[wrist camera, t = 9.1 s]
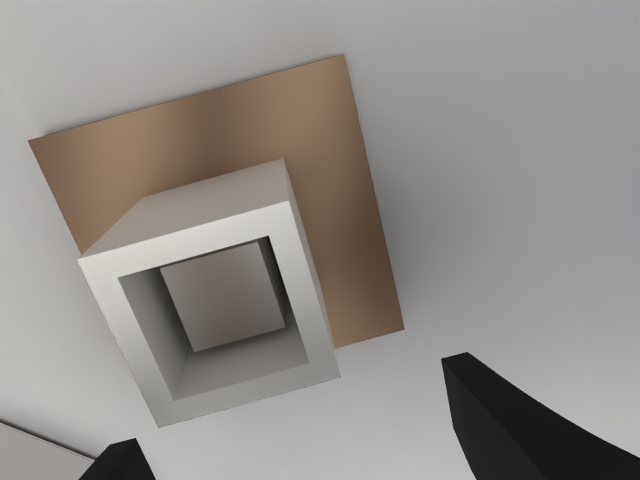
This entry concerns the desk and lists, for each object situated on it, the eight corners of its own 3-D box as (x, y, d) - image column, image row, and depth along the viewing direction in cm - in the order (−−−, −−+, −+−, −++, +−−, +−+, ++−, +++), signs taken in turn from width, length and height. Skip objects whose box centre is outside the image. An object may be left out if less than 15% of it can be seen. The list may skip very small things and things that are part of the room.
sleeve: (283, 157, 17) (288, 200, 11) (320, 284, 19) (340, 377, 13) (143, 197, 17) (76, 259, 11) (193, 320, 19) (158, 428, 13)
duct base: (339, 55, 17) (369, 47, 12) (397, 315, 21) (440, 399, 15) (44, 136, 17) (-63, 165, 12) (156, 381, 21) (115, 488, 15)
